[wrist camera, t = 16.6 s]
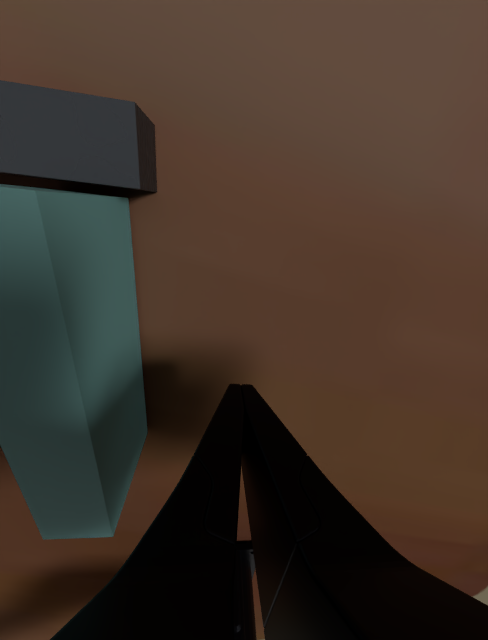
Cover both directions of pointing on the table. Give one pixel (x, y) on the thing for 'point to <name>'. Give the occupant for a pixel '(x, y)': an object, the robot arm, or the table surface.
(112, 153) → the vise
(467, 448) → the table surface
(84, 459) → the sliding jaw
